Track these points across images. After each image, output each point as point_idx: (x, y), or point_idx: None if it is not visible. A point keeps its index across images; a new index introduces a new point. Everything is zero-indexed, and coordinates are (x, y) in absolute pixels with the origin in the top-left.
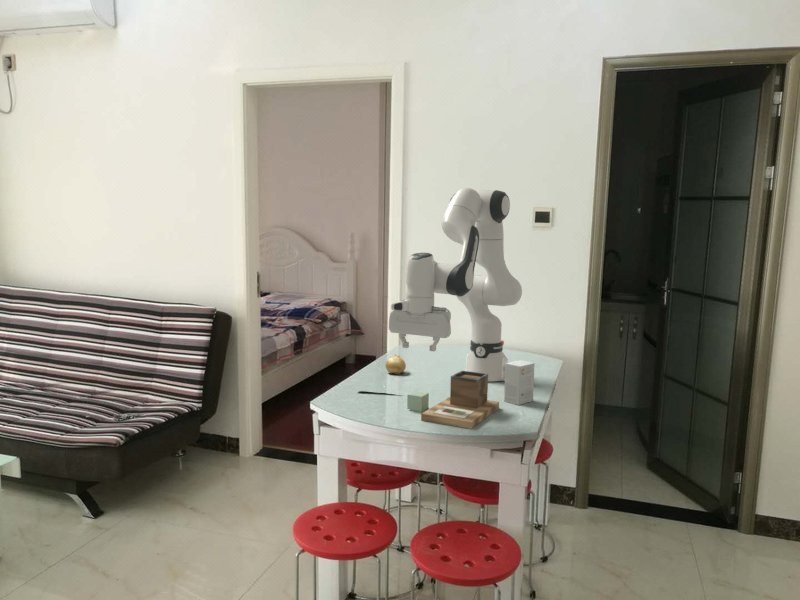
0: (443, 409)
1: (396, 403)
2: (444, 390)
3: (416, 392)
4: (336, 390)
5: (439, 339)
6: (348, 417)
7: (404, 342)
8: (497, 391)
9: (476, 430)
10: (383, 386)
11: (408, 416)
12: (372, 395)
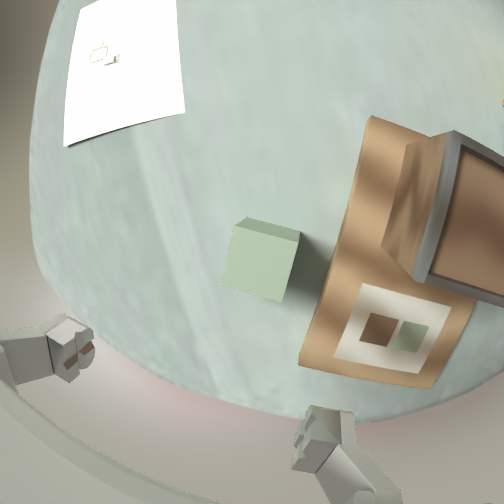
0: (363, 319)
1: (184, 208)
2: (303, 8)
3: (247, 247)
4: (33, 149)
5: (397, 497)
6: (127, 356)
7: (52, 367)
8: (456, 6)
9: (434, 383)
10: (110, 62)
11: (256, 330)
12: (101, 150)
